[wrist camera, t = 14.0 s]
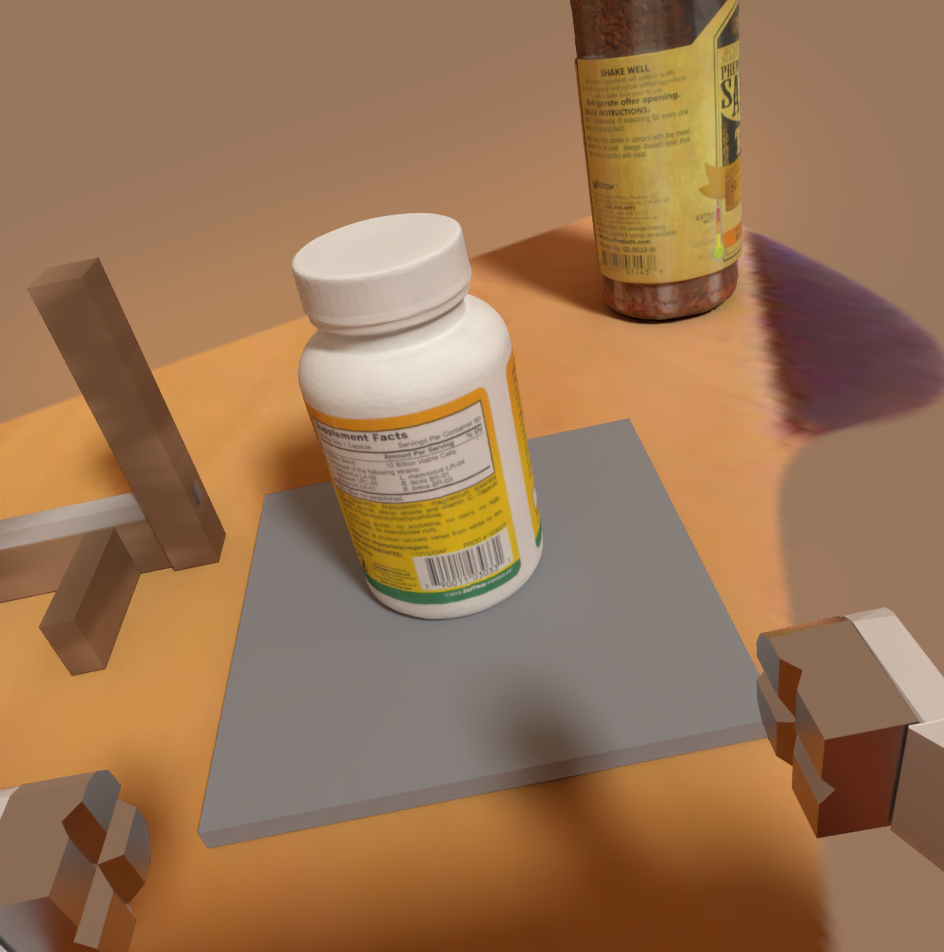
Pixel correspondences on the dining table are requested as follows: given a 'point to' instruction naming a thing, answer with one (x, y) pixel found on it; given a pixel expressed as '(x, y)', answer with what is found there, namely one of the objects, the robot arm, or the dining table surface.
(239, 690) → the grey mat
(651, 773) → the dining table surface
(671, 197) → the sauce bottle
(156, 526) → the dispenser cradle
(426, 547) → the supplement bottle
